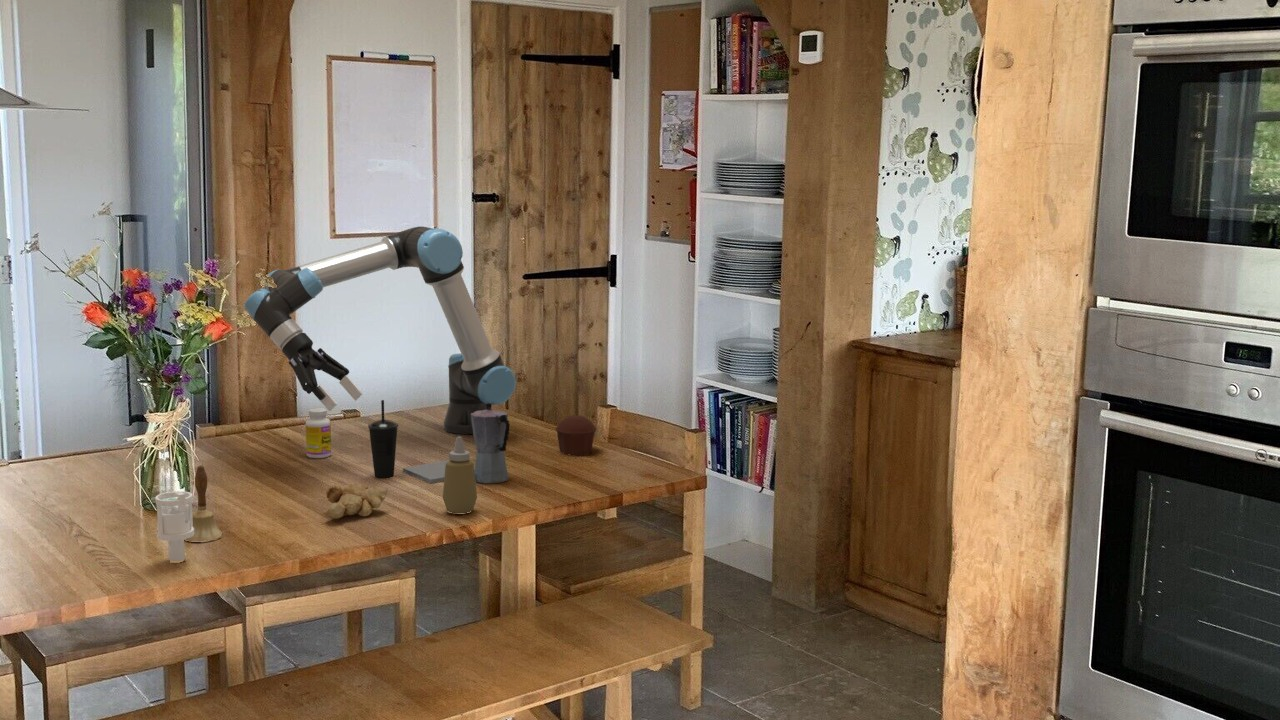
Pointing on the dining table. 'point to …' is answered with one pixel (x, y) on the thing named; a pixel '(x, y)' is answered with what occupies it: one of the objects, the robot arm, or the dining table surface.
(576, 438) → the muffin
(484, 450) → the moka pot
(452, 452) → the squeeze bottle
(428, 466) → the slate coaster
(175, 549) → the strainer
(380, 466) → the drinking cup
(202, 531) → the hand bell
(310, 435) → the supplement bottle
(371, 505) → the ginger root
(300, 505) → the dining table surface
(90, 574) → the dining table surface
